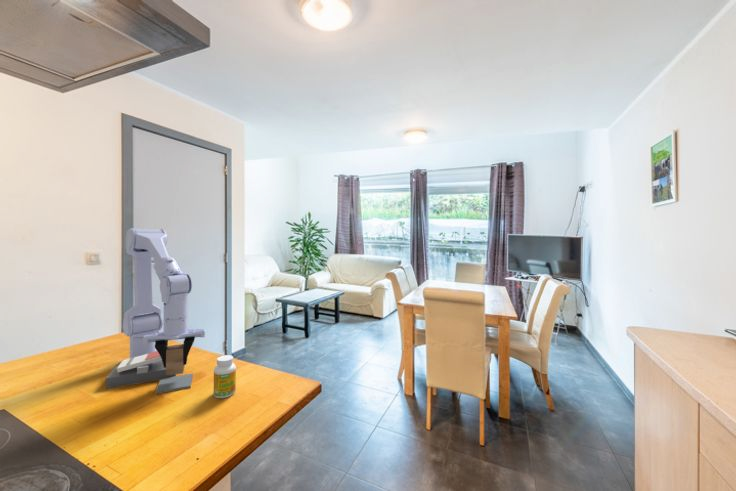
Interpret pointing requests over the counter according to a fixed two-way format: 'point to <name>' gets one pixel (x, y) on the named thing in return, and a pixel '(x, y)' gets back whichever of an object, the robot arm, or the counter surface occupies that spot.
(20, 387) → the counter surface
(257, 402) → the counter surface
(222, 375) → the supplement bottle
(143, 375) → the switch housing
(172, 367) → the brown rectangular block
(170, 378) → the mat
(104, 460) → the counter surface
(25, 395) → the counter surface
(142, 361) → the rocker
